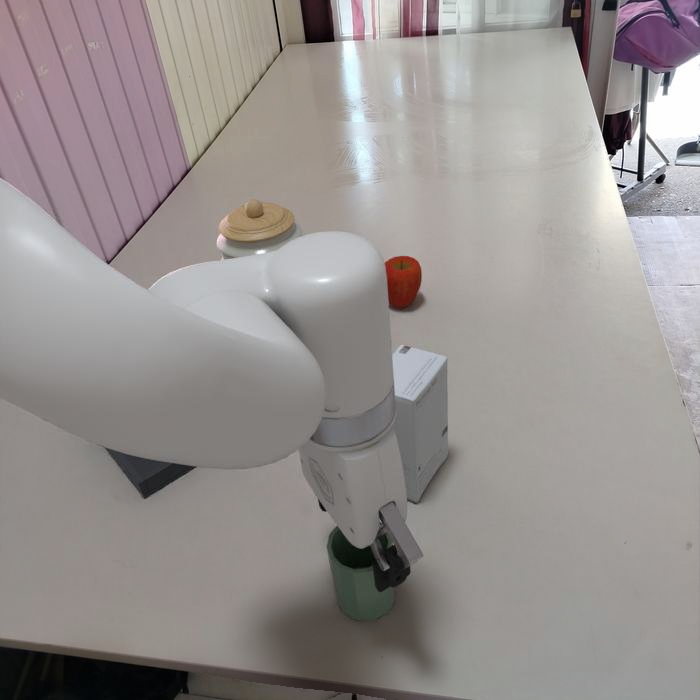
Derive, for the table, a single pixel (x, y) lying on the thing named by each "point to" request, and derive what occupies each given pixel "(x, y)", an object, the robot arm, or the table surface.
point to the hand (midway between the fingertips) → (362, 539)
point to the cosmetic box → (420, 415)
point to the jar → (256, 229)
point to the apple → (403, 280)
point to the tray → (148, 471)
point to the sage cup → (357, 578)
